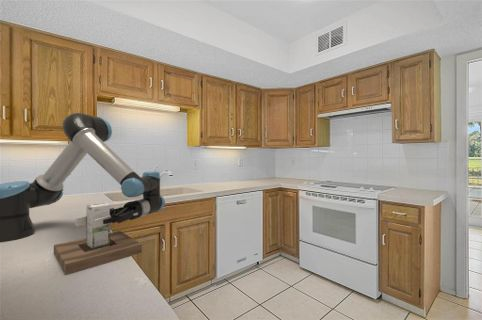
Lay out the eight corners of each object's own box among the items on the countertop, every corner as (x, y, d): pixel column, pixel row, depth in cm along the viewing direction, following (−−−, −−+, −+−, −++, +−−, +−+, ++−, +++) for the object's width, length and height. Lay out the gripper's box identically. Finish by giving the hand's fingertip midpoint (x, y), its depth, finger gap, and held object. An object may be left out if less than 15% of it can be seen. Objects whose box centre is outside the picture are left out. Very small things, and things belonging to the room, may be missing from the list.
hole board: (53, 253, 82) (53, 244, 82) (120, 237, 98) (119, 230, 98) (65, 274, 67) (65, 264, 67) (141, 252, 83) (141, 244, 83)
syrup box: (103, 240, 87) (103, 202, 86) (110, 244, 83) (109, 203, 83) (86, 245, 82) (85, 204, 82) (92, 249, 78) (91, 206, 78)
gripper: (155, 219, 96) (107, 237, 74) (118, 216, 103) (64, 231, 81) (155, 201, 96) (107, 214, 74) (118, 199, 103) (63, 210, 81)
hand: (84, 223), depth 78 cm, fingers closed on syrup box, 7 cm apart
